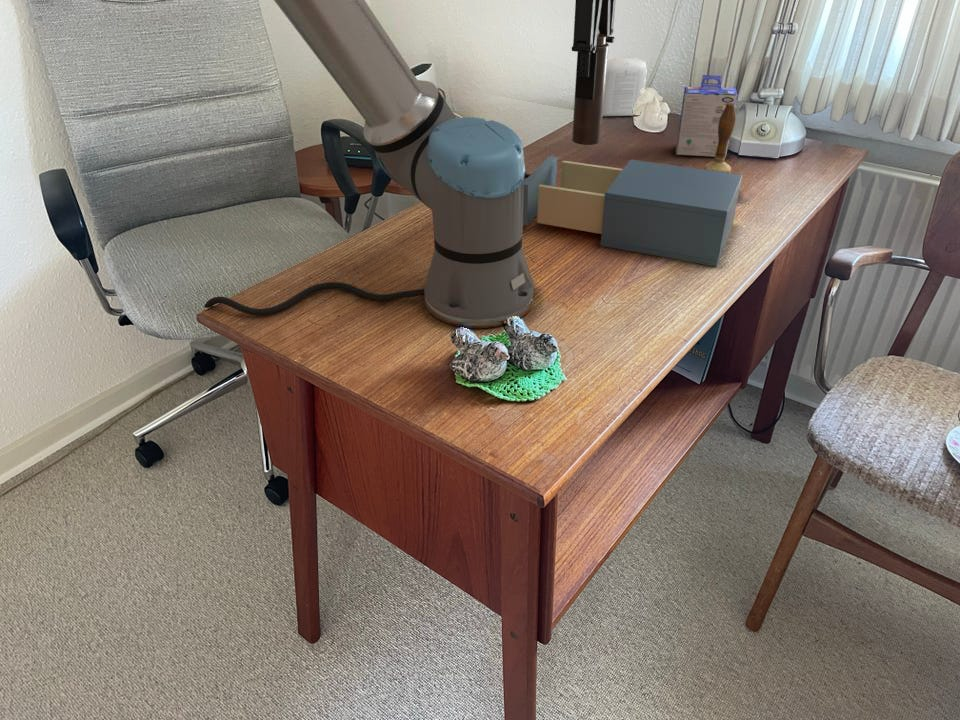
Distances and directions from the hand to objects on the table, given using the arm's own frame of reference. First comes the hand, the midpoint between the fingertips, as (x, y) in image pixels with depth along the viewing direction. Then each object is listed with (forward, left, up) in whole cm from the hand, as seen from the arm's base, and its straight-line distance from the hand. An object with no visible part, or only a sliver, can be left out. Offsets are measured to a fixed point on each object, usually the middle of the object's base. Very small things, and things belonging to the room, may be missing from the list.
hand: (589, 93), depth 108 cm
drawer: (-2, +1, -20) cm, 20 cm away
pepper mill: (0, 0, -7) cm, 7 cm away
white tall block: (+30, +51, -21) cm, 62 cm away
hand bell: (+26, +3, -21) cm, 34 cm away
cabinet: (+11, -9, -21) cm, 25 cm away
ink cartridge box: (+35, +23, -21) cm, 47 cm away
